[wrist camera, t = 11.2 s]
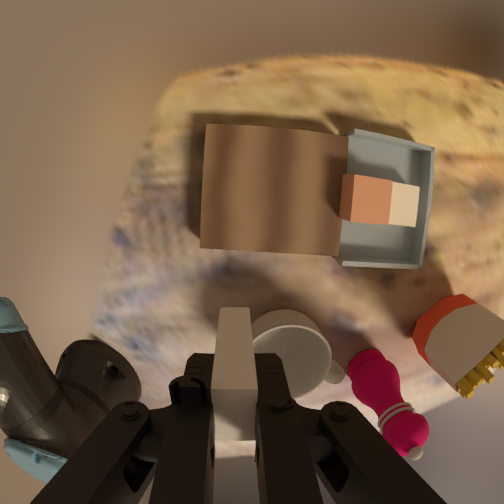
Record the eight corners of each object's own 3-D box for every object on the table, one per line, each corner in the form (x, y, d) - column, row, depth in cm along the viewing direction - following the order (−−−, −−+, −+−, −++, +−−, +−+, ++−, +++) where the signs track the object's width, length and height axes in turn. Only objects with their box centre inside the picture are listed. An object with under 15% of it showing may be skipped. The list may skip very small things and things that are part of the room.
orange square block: (338, 217, 32) (350, 221, 29) (342, 174, 31) (354, 174, 28) (375, 220, 33) (388, 225, 30) (379, 179, 31) (392, 180, 29)
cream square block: (371, 219, 34) (381, 223, 31) (375, 180, 33) (385, 180, 30) (403, 223, 34) (415, 227, 31) (407, 185, 33) (419, 186, 30)
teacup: (225, 343, 39) (221, 378, 31) (272, 283, 37) (278, 309, 29) (302, 383, 41) (311, 419, 33) (349, 332, 39) (368, 363, 31)
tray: (333, 258, 36) (342, 265, 33) (344, 132, 32) (354, 128, 29) (408, 262, 37) (421, 269, 33) (420, 149, 33) (434, 147, 29)
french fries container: (459, 307, 39) (527, 358, 21) (412, 346, 40) (470, 415, 23) (453, 287, 38) (528, 337, 20) (404, 328, 39) (468, 398, 22)
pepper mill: (393, 359, 41) (452, 443, 21) (361, 388, 42) (405, 479, 22) (369, 338, 39) (432, 430, 20) (335, 370, 41) (377, 471, 21)
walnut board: (203, 242, 36) (199, 248, 33) (209, 128, 32) (206, 123, 29) (331, 250, 36) (338, 256, 33) (340, 139, 33) (348, 136, 30)
